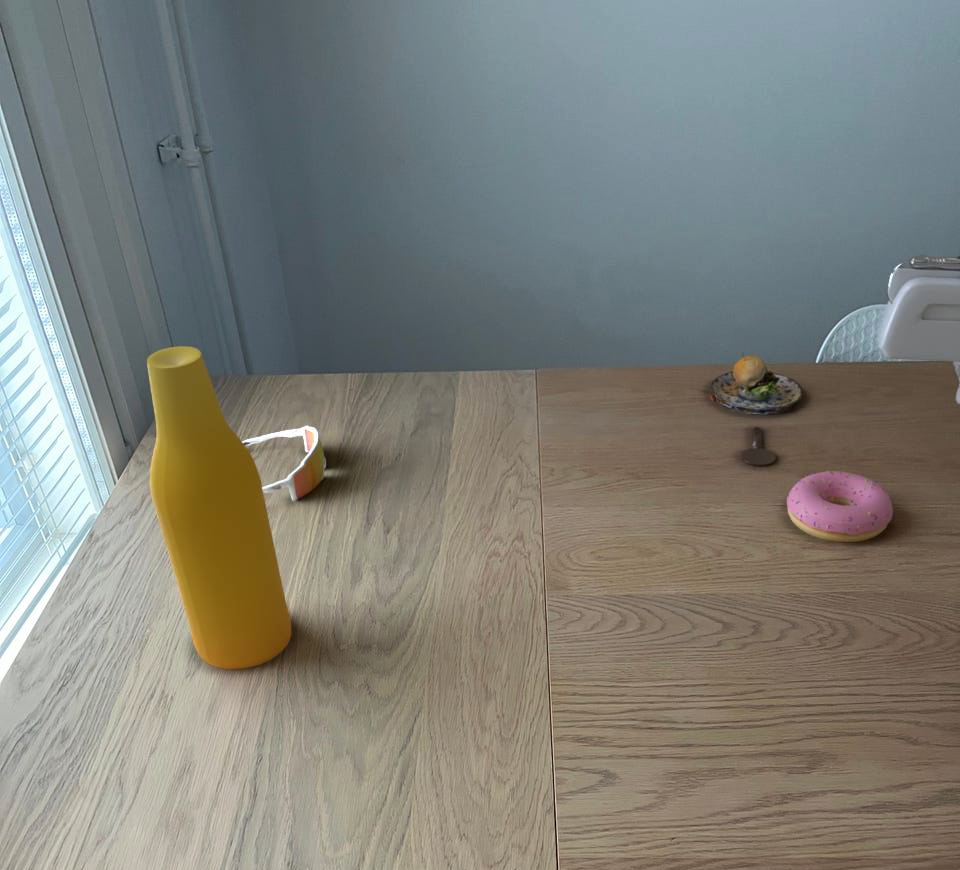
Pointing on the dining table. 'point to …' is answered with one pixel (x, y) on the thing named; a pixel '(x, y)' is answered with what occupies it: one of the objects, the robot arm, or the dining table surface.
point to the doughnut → (839, 506)
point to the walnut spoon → (757, 452)
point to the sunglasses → (310, 467)
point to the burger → (755, 389)
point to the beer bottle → (213, 519)
